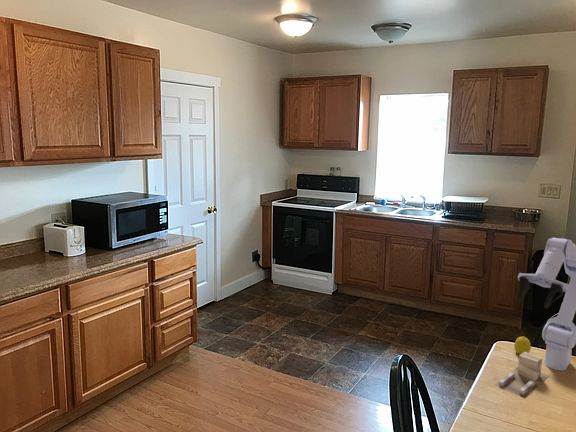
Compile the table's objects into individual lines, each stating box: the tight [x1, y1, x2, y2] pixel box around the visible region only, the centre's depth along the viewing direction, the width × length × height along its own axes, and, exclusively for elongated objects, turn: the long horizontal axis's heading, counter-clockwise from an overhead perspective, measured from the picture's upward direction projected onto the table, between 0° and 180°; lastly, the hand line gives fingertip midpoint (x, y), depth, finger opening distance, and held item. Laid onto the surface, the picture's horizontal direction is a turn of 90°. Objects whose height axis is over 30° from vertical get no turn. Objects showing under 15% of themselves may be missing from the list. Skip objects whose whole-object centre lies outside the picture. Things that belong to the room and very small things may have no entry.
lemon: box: [514, 335, 532, 355], centre depth 180 cm, size 6×6×8 cm
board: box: [494, 366, 550, 399], centre depth 161 cm, size 20×10×3 cm, turn 131°
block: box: [517, 352, 543, 381], centre depth 164 cm, size 4×6×7 cm, turn 41°
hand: (532, 303), depth 147 cm, fingers open, 7 cm apart
